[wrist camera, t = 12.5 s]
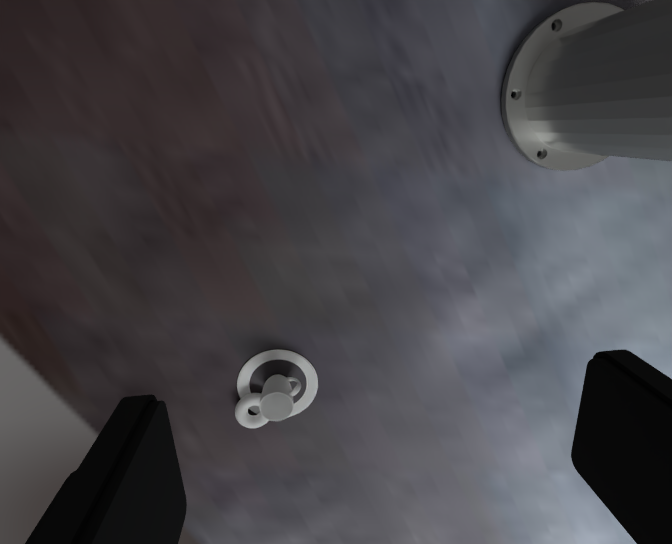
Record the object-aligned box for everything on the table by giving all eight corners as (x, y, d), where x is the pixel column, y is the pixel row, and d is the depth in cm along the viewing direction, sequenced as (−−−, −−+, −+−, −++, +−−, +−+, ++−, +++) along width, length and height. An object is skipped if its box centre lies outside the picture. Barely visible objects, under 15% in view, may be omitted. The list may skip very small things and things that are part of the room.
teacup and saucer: (245, 426, 43) (241, 455, 39) (217, 362, 40) (210, 387, 36) (326, 402, 43) (330, 429, 39) (304, 337, 40) (306, 359, 37)
